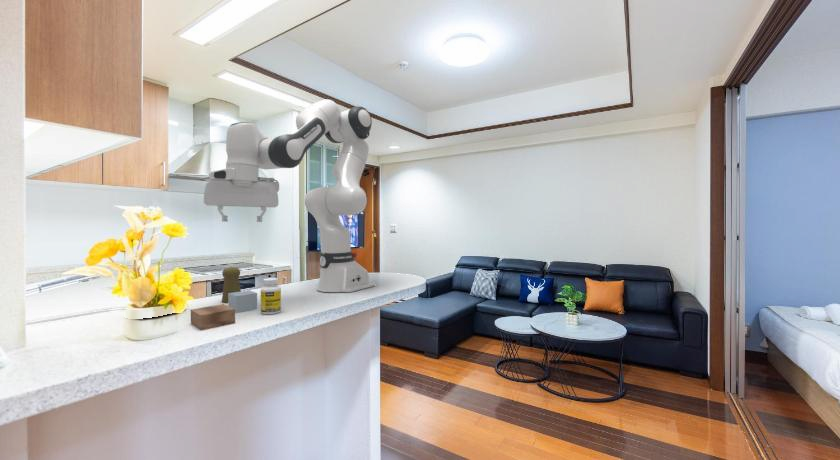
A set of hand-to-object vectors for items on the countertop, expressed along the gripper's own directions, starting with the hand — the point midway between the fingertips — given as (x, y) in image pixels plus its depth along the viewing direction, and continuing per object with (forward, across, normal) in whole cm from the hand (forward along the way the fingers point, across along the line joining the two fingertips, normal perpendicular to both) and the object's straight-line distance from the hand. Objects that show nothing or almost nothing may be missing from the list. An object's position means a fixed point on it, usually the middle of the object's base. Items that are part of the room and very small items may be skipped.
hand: (242, 221), depth 109 cm
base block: (+27, +7, +14) cm, 31 cm away
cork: (+26, +3, -12) cm, 29 cm away
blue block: (+26, 0, +1) cm, 27 cm away
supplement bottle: (+26, -7, +9) cm, 29 cm away
